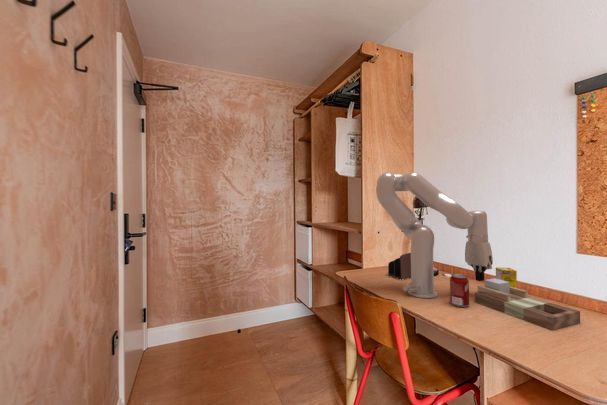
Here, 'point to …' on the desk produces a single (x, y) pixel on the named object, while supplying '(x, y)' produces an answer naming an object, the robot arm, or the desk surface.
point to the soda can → (459, 290)
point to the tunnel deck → (528, 307)
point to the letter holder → (400, 267)
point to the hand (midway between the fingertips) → (480, 280)
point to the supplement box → (507, 275)
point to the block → (498, 285)
